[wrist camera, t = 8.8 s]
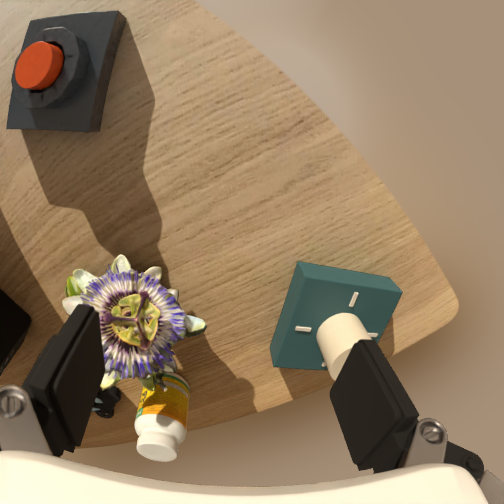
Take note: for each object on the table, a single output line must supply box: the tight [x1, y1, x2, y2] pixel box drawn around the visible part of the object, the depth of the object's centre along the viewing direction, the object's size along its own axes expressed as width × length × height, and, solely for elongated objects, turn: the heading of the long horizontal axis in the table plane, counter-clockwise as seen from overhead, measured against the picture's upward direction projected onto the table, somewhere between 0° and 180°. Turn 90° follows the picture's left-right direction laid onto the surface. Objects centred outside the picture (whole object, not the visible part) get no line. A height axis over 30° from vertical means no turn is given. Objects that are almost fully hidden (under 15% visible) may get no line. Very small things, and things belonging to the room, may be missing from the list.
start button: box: [15, 42, 64, 90], centre depth 14 cm, size 4×4×2 cm
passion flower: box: [62, 255, 207, 391], centre depth 24 cm, size 11×11×12 cm
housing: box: [6, 11, 126, 132], centre depth 16 cm, size 10×9×4 cm
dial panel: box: [270, 261, 403, 370], centre depth 28 cm, size 10×10×3 cm
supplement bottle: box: [135, 373, 190, 462], centre depth 27 cm, size 5×5×10 cm
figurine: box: [39, 354, 121, 418], centre depth 29 cm, size 10×12×8 cm
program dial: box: [316, 313, 371, 381], centre depth 24 cm, size 4×4×5 cm
